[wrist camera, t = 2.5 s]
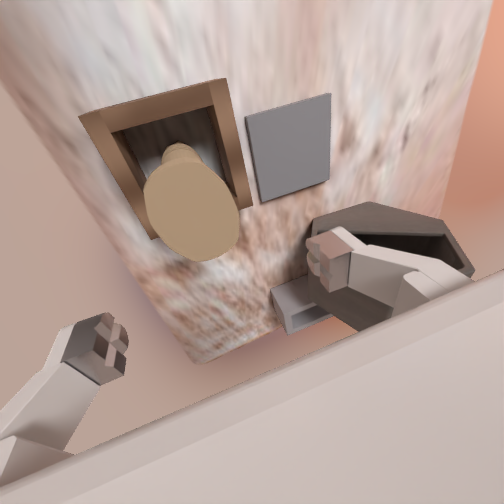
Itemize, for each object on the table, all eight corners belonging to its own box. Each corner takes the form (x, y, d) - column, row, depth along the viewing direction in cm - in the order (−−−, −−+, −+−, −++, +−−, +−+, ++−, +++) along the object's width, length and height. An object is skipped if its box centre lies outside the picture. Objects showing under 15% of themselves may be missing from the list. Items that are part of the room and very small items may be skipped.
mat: (244, 116, 25) (246, 117, 24) (327, 93, 26) (331, 93, 25) (260, 199, 31) (262, 202, 30) (326, 177, 32) (329, 179, 32)
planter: (430, 200, 35) (505, 313, 20) (415, 241, 40) (466, 357, 24) (315, 201, 40) (303, 292, 25) (314, 237, 44) (304, 332, 29)
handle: (175, 192, 27) (187, 272, 15) (141, 136, 23) (122, 188, 11) (212, 174, 27) (251, 240, 16) (185, 115, 23) (210, 146, 12)
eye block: (93, 110, 21) (77, 116, 17) (214, 79, 22) (226, 78, 18) (152, 218, 28) (151, 240, 24) (241, 189, 29) (253, 205, 25)
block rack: (270, 288, 42) (283, 314, 37) (402, 236, 46) (430, 254, 41) (274, 310, 46) (287, 335, 41) (396, 261, 50) (420, 279, 45)
